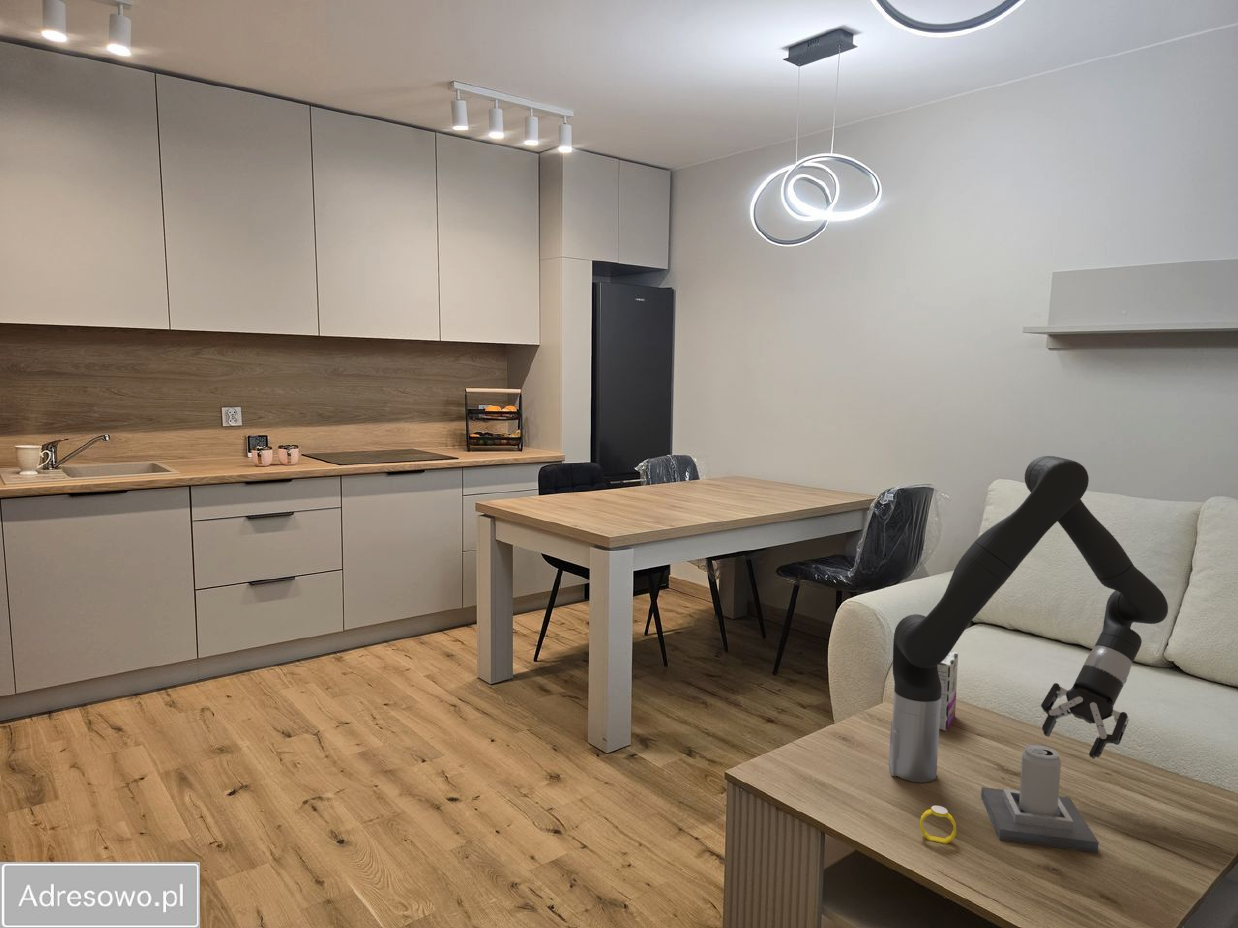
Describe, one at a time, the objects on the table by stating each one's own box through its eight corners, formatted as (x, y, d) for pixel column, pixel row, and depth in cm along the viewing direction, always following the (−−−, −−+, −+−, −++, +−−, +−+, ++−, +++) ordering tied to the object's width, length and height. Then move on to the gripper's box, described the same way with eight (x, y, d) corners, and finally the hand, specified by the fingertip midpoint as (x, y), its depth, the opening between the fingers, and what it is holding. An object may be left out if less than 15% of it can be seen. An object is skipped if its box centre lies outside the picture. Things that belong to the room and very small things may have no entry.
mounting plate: (999, 839, 145) (1000, 820, 145) (980, 796, 161) (982, 779, 160) (1097, 853, 142) (1099, 833, 141) (1069, 807, 157) (1070, 789, 157)
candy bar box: (934, 711, 203) (938, 648, 202) (955, 716, 201) (959, 652, 199) (925, 726, 194) (928, 660, 192) (947, 732, 191) (951, 664, 190)
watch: (953, 841, 145) (958, 810, 144) (954, 849, 143) (959, 817, 142) (918, 831, 147) (922, 801, 146) (918, 839, 145) (922, 808, 144)
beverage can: (1061, 823, 147) (1066, 760, 146) (1023, 818, 149) (1028, 756, 148) (1051, 806, 154) (1055, 745, 152) (1014, 801, 155) (1018, 741, 154)
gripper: (1063, 652, 164) (1027, 721, 160) (1141, 683, 153) (1105, 758, 150) (1069, 666, 169) (1034, 734, 165) (1145, 697, 158) (1110, 770, 155)
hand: (1068, 745), depth 157 cm, fingers open, 8 cm apart
